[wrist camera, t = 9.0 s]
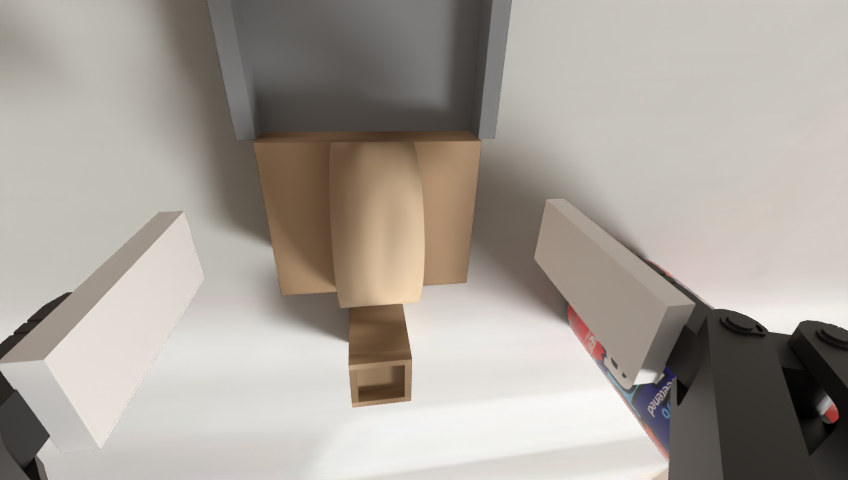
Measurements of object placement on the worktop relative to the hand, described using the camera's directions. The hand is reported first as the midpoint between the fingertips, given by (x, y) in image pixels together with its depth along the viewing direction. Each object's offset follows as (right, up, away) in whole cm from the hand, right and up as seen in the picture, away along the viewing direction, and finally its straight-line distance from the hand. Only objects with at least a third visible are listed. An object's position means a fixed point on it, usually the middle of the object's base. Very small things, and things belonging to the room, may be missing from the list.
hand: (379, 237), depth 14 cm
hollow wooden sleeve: (-2, -6, +13) cm, 14 cm away
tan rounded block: (-1, +3, +8) cm, 8 cm away
